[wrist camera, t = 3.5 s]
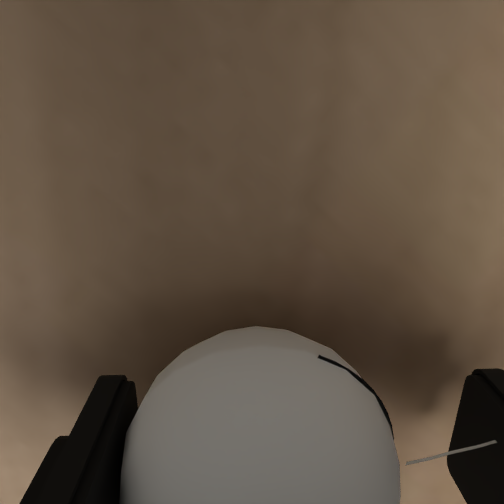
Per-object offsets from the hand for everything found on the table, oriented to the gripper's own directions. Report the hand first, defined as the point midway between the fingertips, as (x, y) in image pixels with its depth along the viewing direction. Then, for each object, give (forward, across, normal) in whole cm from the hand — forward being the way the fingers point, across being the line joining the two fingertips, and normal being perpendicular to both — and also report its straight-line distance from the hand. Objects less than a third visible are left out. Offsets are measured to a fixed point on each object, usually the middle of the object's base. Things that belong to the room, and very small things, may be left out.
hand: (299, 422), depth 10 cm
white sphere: (+2, 0, 0) cm, 2 cm away
